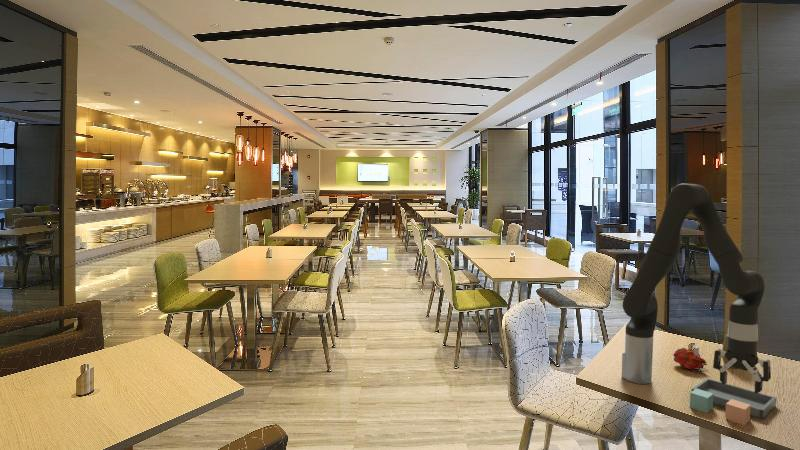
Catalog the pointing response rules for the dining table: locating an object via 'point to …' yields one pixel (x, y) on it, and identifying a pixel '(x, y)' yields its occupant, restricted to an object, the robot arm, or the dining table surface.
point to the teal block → (701, 400)
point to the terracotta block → (737, 411)
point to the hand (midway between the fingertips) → (740, 388)
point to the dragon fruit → (689, 359)
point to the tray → (738, 397)
